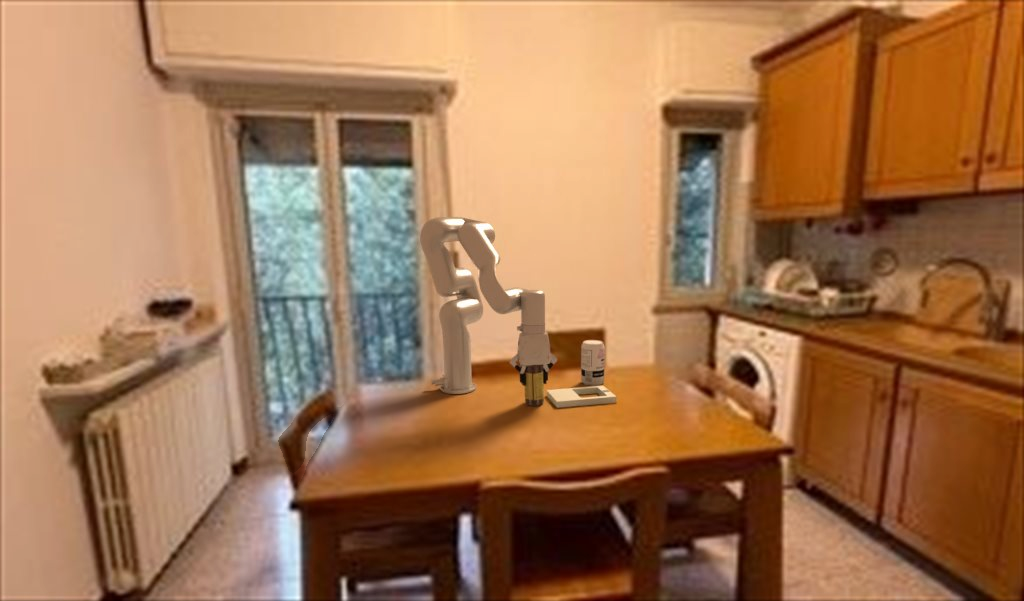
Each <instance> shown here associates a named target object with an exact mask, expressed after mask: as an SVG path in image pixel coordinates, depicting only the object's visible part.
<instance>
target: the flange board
mask: <svg viewBox="0 0 1024 601" xmlns="http://www.w3.org/2000/svg"><path fill="white" fill-rule="evenodd" d="M589 394H591V395H592V394H598V395H599V396H589V397H587V396H586V397H581V396H580V395H589ZM546 397H547V398H548V399H549V401H550V402H552V404H553V405H554V406H555V407H556V408H558V409H559V408H571V407H580V406H589V405H590V406H593V405H603V404H612V403H613V404H614V403H617V396H616V395H615V394H614V393H613V392H611V391H610V390H609V389H608V388H607V387H605V386H604V385H596V386H591V385H590V386H581V387H579V386H578V387H568V388H557V389H546Z"/></svg>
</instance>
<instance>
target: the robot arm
mask: <svg viewBox="0 0 1024 601" xmlns="http://www.w3.org/2000/svg"><path fill="white" fill-rule="evenodd" d="M420 230H421V231H420V235H419V237H420V238H419V241H420V242H419V243H420V245H421V249H422V252H423V254H424V256H425V259H426V261H427V264H428V269H429V272H430V275H431V279H432V282H433V284H434V288H435V290H436V292H437V294H438V295H439V296H440V297H442V298H451V297H454V296H456V299H451V300H449V301H447V302H445V303H444V304H442V306H441V307H440V309H439V312H438V315H439V323H440V326H441V331H442V334H441V335H442V346H443V347H442V348H443V352H442V353H443V375H442V377H439V378H431V379H430V382H431V385H435V386H436V387H438V386H440V387H439V389H440V391H441V392H442V393H444V394H450V395H462V394H463V395H464V394H468V393H472V392H474V391H475V390H476V389H477V384H476V382H473V381H472V348H471V347H472V346H471V342H472V340H471V336H470V332H469V329H468V327H467V326H469V325H471V324H474V323H476V322H479V321H480V320H481V319H482V318H483V314H484V306H483V302H482V298H481V294H482V295H483V297H484V300H485V301H486V302H487V304H488V306H489V307H490V308H491V309H492V310H493V311H494V312H495V313H496V314H499V315H507V314H510V313H511V314H512V313H514V312H518V311H520V313H521V317H520V318H521V323H520V325H519V326H516V331H517V332H518V331H519V333H518V334H519V335H518V342H517V353H515V355H514V356H513V357H512V358H511V359H510V360H509V364H510V365H511V366H512V367H513V368H514V369H515V370H516V371H517V372H519V382H520V383H521V386H523V387H524V386H525V385H526V374H525V373H524V371H525V368H526V366H532V365H543V383H544V385H547V381H549V371H550V370H551V369H552V367H553V366H554V365H555V364H556V363H557V361H558V358H557V357H556V356H555V355H554V354H553V352H551V344H550V339H549V338H550V337H549V334H548V332H547V331H546V295H545V293H544V291H543V290H539V289H525V288H523V287H512V288H506V289H504V287H503V286H502V285H501V283H500V282H499V279H498V276H497V273H496V272H497V271H496V268H497V267H498V265H499V264H500V261H501V257H500V255H499V253H498V252H497V250H496V249H495V246H493V243H494V242H495V240H496V232H495V229H494V228H493V227H492V225H490V223H487V222H486V221H480V220H475V219H471V218H466V217H461V216H439V217H435V218H431V219H429V220H427V221H426V222H425V223H424V224H423V226H422V227H421V229H420ZM449 242H450V243H451V242H459V244H460V245H461V246H462V248H463V249H464V251H465V252H466V254H467V255H468V256H467V257H468V258H469V259H470V260H471V262H472V264H473V265H474V267H475V268H476V270H477V272H478V283H479V288H478V285H477V281H476V279H475V277H474V274H473V273H472V272H471V271H470V270H469V269H468V268H465V267H456V266H455V264H454V261H453V256H452V254H451V252H450V251H449V249H448V248H447V247H446V246H445V243H449ZM479 289H480V290H479ZM479 291H480V292H481V294H480V292H479ZM517 362H518V364H520V365H518V364H517Z"/></svg>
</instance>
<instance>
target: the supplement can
mask: <svg viewBox="0 0 1024 601" xmlns="http://www.w3.org/2000/svg"><path fill="white" fill-rule="evenodd" d="M580 347H581V348H580V349H581V351H580V355H581V356H580V358H581V359H580V368H581V369H580V381H581V382H582V384H583V385H585V386H590V387H591V386H602V384H603V383H604V382H605V355H606V353H605V352H606V348H605V345H604V342H603V341H602V340H599V339H598V340H597V339H587V340H583V342H582V344H581V346H580Z"/></svg>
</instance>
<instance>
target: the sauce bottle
mask: <svg viewBox="0 0 1024 601" xmlns="http://www.w3.org/2000/svg"><path fill="white" fill-rule="evenodd" d="M524 373H525V374H526V385H525V386H523V387H524V402H525V404H526V405H527V406H534V407H535V406H540V405H542V404H543V403H544V401H545V400H544V397H545V389H544V388H545V386H544V385H545V384H544V383H543V365H532V366H526V368H525V371H524Z"/></svg>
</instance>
